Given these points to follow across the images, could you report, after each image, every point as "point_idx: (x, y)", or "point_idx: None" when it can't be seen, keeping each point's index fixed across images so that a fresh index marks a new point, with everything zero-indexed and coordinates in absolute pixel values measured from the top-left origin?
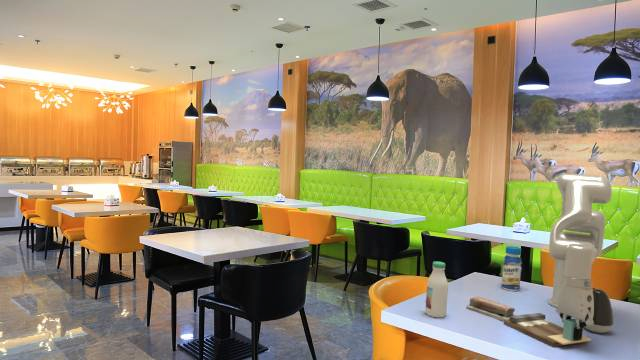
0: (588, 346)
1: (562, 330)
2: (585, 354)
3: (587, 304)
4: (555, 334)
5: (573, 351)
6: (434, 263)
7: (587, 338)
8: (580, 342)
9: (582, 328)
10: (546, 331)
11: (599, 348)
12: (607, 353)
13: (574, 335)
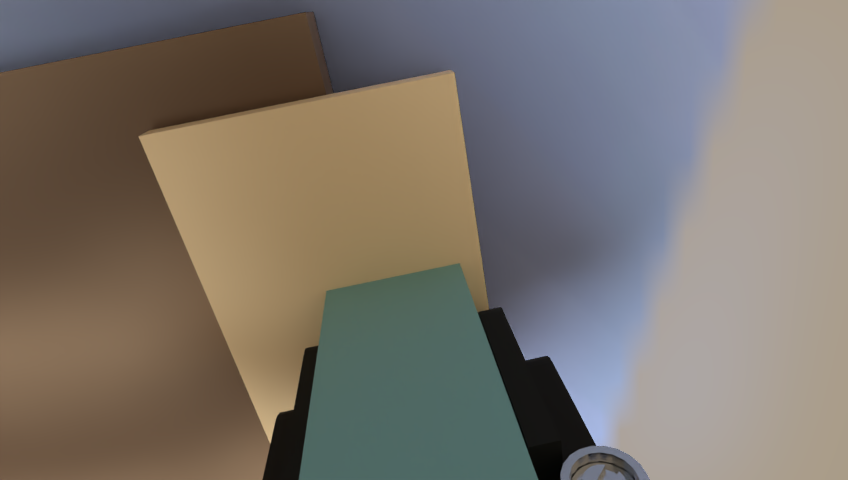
0: (469, 131)
1: (4, 232)
2: (642, 336)
3: None
4: (209, 422)
5: None
6: None
7: (424, 124)
8: None
9: (605, 473)
10: (109, 467)
11: (553, 15)
12: (706, 44)
13: None
